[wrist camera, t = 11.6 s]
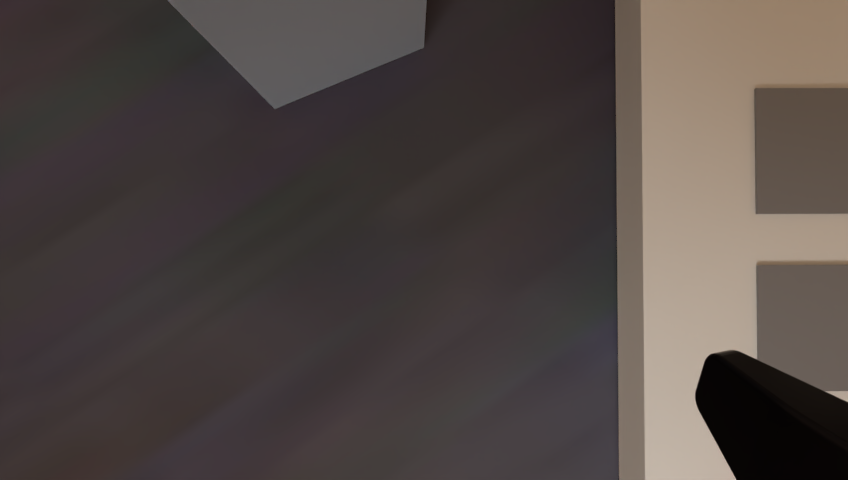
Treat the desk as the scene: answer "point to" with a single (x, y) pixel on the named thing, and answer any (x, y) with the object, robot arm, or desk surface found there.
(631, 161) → the power strip
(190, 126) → the desk surface
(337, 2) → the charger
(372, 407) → the desk surface
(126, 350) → the desk surface
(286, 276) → the desk surface
